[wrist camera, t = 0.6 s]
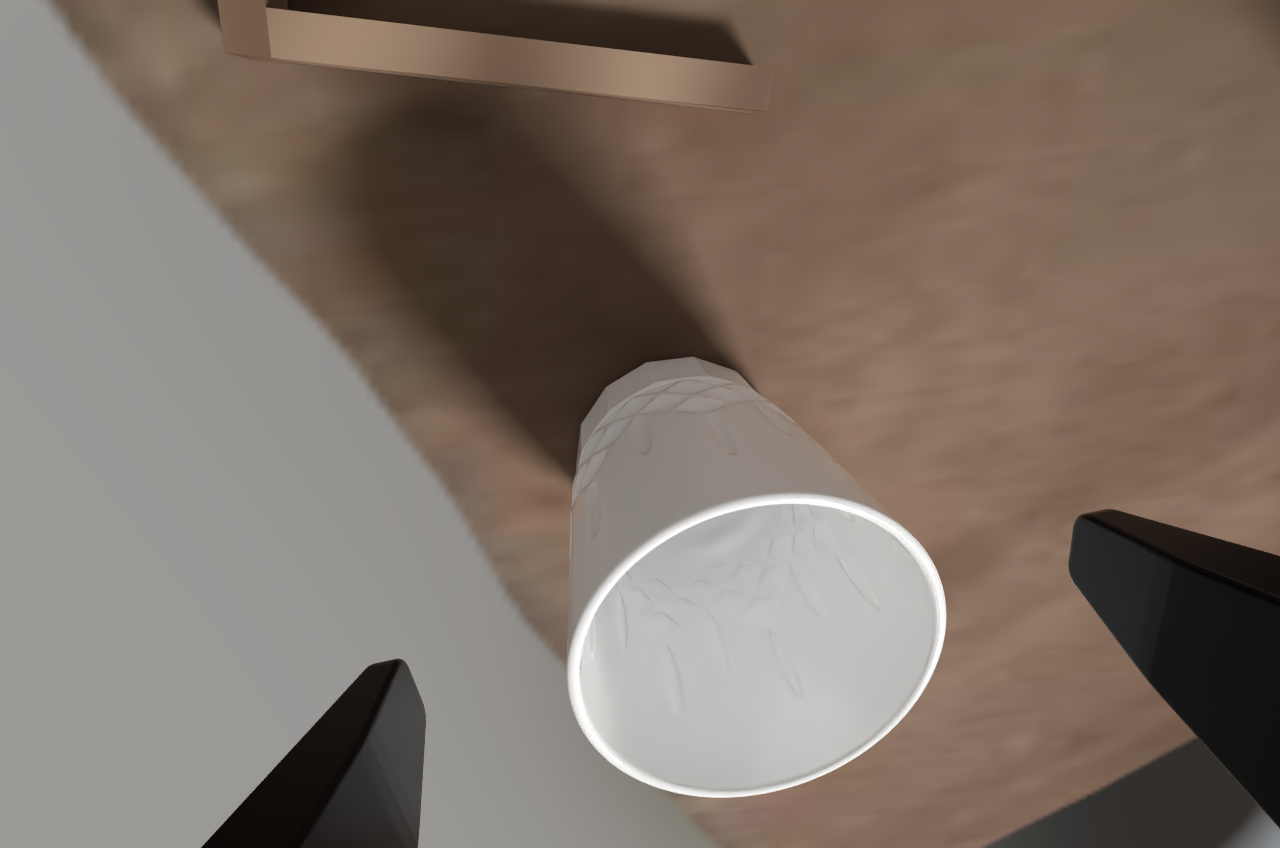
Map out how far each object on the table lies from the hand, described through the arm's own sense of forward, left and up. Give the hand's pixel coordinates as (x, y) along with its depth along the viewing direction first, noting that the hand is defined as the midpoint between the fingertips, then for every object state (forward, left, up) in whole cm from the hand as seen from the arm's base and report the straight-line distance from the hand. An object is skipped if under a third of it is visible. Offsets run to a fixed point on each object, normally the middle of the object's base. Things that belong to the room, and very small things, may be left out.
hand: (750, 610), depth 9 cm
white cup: (-2, +4, -13) cm, 14 cm away
